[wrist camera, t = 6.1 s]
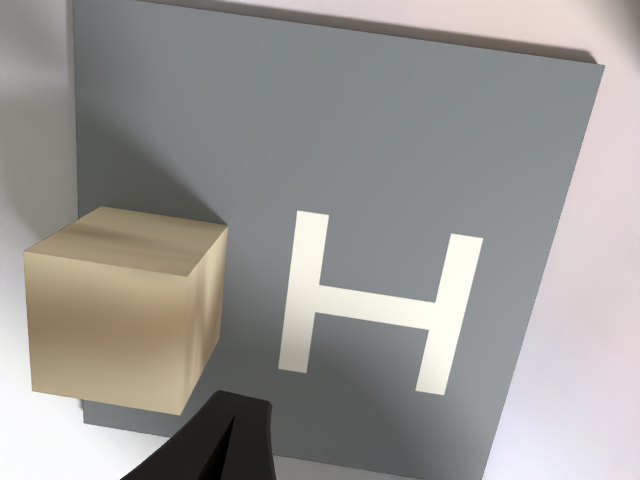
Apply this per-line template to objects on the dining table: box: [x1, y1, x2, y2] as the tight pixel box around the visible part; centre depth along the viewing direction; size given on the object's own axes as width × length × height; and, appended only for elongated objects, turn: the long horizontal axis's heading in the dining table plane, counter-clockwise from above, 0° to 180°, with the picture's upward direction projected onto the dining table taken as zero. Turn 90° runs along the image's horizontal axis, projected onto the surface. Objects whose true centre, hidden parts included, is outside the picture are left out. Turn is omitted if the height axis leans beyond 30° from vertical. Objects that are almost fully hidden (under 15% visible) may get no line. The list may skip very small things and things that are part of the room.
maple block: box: [23, 206, 228, 415], centre depth 19 cm, size 5×5×5 cm
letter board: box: [73, 0, 605, 480], centre depth 21 cm, size 18×18×1 cm
